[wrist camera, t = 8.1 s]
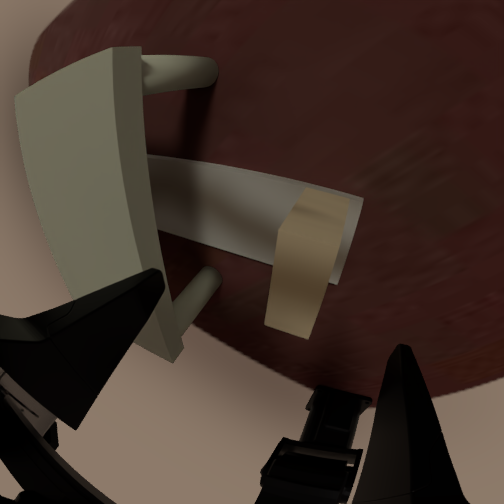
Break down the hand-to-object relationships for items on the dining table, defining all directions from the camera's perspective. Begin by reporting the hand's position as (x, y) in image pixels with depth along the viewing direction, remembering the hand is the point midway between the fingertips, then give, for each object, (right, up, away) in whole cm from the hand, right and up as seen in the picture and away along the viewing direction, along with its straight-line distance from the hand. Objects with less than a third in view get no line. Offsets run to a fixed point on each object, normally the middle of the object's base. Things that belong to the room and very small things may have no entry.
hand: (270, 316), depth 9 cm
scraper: (-4, +6, +10) cm, 12 cm away
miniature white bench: (-8, +8, +10) cm, 15 cm away
